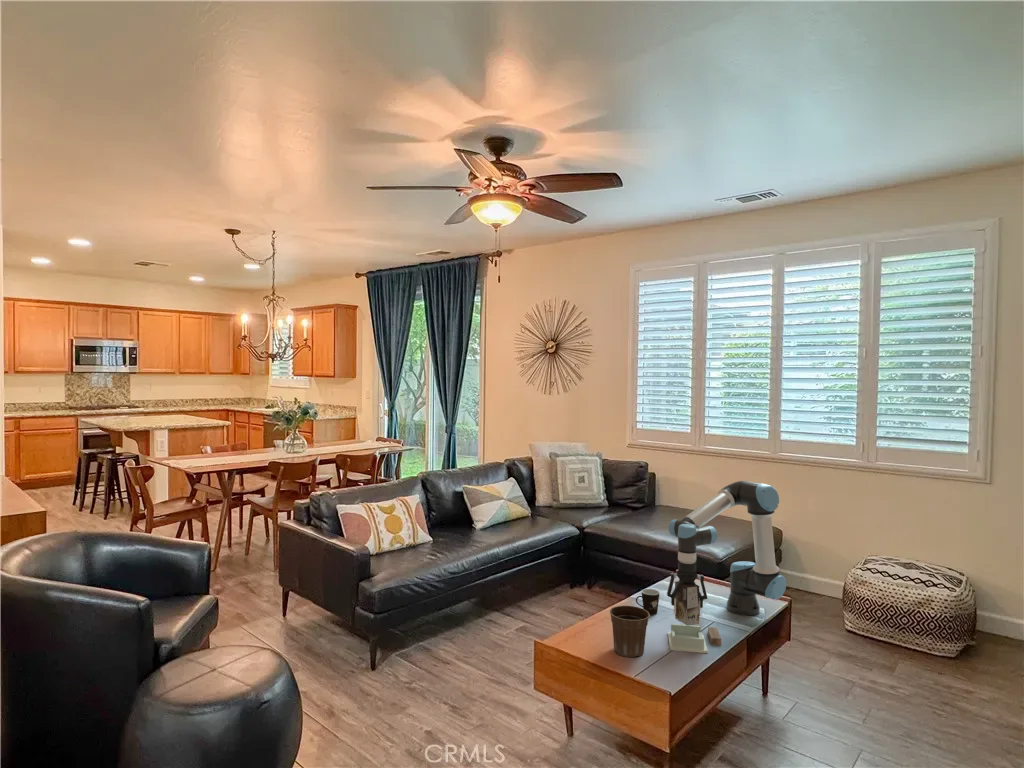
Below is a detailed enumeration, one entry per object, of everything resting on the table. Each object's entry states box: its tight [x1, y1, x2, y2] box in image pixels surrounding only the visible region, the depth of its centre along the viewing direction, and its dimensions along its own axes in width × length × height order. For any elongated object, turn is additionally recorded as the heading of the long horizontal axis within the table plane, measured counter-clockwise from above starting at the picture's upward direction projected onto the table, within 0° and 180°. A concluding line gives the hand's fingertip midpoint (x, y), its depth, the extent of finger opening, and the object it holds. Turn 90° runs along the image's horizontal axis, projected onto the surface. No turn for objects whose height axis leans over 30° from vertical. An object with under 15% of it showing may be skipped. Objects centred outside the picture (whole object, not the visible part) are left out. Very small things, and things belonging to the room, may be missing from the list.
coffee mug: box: [635, 588, 660, 616], centre depth 293 cm, size 12×9×10 cm
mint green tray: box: [667, 623, 709, 654], centre depth 259 cm, size 15×17×5 cm
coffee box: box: [674, 580, 700, 626], centre depth 259 cm, size 9×6×16 cm
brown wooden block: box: [707, 626, 722, 646], centre depth 263 cm, size 4×12×3 cm, turn 168°
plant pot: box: [609, 605, 651, 658], centre depth 251 cm, size 16×16×16 cm
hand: (686, 613), depth 259 cm, fingers closed on coffee box, 9 cm apart
